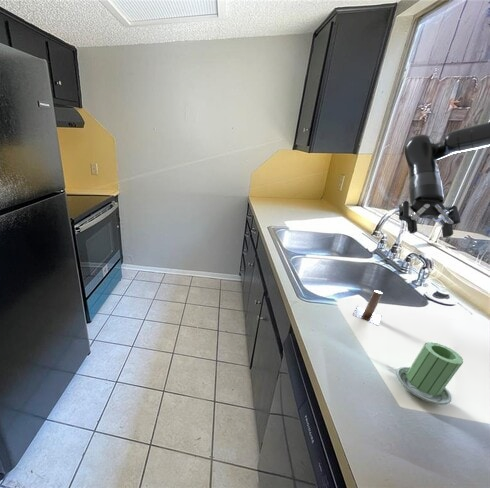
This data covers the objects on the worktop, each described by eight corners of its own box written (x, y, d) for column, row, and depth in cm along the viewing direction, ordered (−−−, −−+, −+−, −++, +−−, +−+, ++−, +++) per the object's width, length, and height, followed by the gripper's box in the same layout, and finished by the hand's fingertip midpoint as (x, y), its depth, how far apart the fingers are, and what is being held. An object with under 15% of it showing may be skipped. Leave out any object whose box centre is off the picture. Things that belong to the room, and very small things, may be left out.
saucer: (435, 382, 64) (439, 375, 63) (455, 418, 56) (461, 411, 55) (387, 367, 67) (391, 360, 66) (400, 398, 59) (404, 391, 58)
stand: (380, 319, 85) (393, 292, 81) (376, 329, 80) (390, 301, 76) (355, 309, 89) (366, 283, 85) (350, 318, 85) (362, 291, 80)
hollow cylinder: (440, 383, 61) (462, 352, 57) (440, 400, 57) (464, 368, 53) (407, 368, 64) (425, 337, 60) (405, 382, 61) (424, 351, 56)
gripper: (407, 180, 82) (411, 226, 76) (462, 185, 78) (470, 233, 73) (392, 193, 88) (394, 236, 83) (442, 198, 85) (448, 243, 80)
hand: (430, 234), depth 78 cm, fingers open, 8 cm apart
